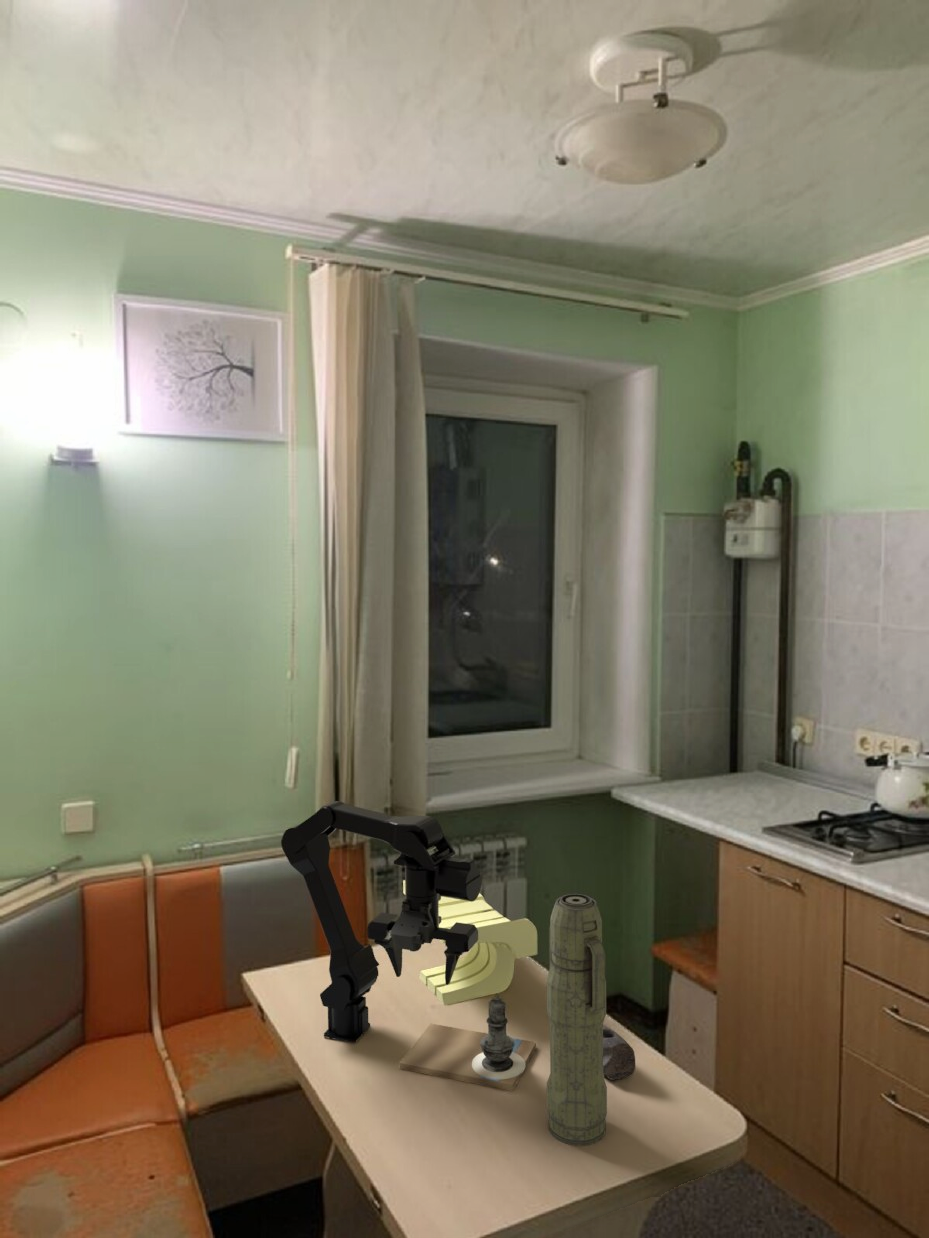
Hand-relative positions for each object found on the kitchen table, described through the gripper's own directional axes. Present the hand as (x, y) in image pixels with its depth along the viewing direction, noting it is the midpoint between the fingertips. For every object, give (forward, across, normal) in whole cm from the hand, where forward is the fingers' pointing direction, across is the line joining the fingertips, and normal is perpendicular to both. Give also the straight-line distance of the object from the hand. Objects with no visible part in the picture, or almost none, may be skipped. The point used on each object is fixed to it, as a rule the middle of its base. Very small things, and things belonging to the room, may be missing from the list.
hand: (423, 979), depth 157 cm
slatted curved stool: (+13, -2, +28) cm, 31 cm away
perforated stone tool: (+13, +30, +6) cm, 33 cm away
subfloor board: (+13, +8, +1) cm, 15 cm away
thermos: (+13, +30, -12) cm, 35 cm away
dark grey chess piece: (+12, +14, -1) cm, 18 cm away
